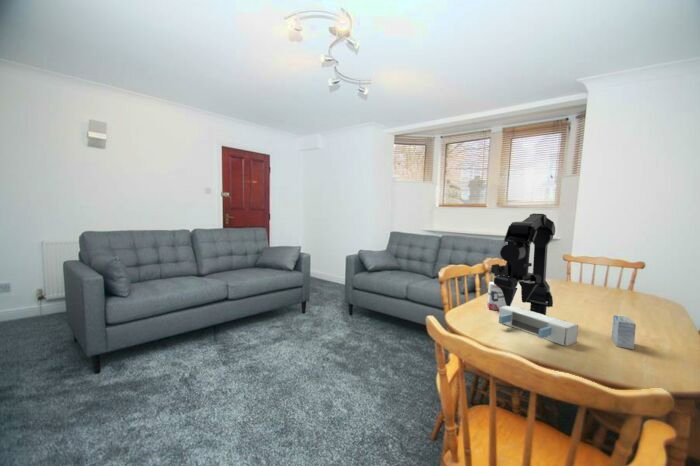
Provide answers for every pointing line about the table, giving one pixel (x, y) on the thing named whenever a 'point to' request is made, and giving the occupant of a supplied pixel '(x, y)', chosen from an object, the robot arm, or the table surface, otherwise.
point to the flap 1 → (505, 317)
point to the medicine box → (623, 332)
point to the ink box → (495, 297)
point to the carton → (540, 323)
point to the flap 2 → (553, 333)
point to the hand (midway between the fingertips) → (516, 304)
